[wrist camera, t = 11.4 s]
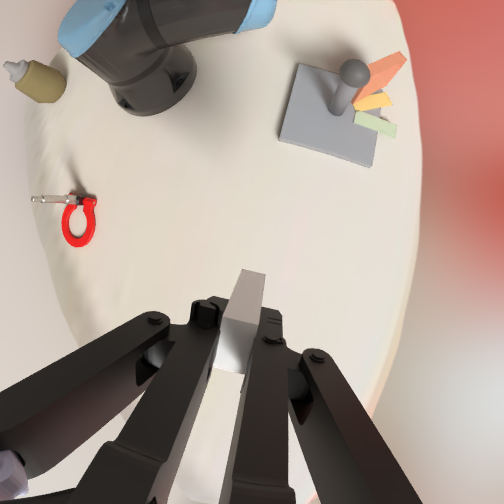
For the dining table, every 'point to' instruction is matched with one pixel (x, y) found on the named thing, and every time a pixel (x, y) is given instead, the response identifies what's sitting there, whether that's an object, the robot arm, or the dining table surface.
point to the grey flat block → (333, 118)
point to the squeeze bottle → (36, 80)
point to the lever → (363, 80)
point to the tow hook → (72, 205)
